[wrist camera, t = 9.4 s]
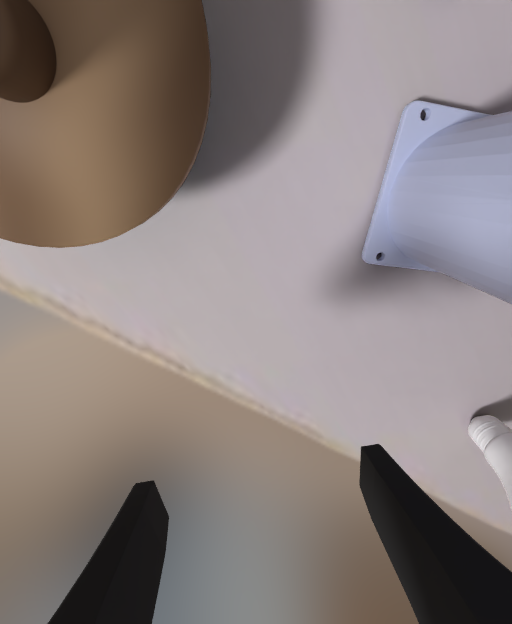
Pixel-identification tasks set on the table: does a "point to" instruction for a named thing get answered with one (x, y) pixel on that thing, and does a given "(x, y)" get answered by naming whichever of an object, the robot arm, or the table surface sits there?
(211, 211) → the table surface
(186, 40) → the lid
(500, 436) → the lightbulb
